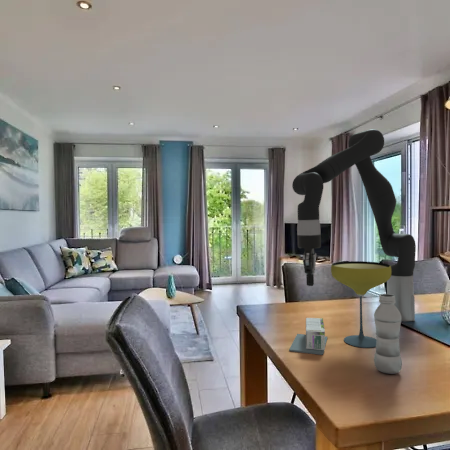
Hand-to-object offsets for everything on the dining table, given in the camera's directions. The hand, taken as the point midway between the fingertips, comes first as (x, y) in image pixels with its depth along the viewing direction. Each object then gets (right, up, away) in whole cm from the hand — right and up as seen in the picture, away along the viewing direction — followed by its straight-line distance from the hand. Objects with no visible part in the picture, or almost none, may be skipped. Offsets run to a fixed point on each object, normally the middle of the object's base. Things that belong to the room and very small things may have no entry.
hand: (310, 285), depth 116 cm
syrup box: (+2, -15, +3) cm, 15 cm away
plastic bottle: (+14, -18, -25) cm, 34 cm away
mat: (-2, -18, -5) cm, 19 cm away
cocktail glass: (+16, -18, -4) cm, 24 cm away
